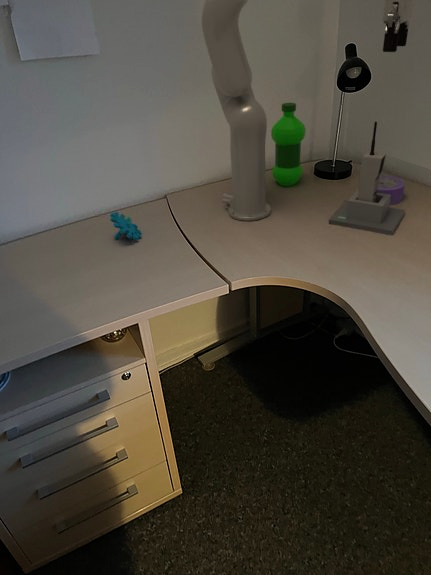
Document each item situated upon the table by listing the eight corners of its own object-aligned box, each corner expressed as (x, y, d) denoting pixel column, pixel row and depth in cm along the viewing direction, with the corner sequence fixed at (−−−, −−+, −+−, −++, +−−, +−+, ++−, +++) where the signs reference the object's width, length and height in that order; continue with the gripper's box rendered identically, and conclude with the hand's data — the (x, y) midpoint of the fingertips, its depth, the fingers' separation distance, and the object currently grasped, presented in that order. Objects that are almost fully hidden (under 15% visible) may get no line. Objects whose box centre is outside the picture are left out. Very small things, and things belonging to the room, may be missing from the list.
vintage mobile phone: (373, 218, 126) (386, 124, 112) (355, 215, 128) (365, 122, 114) (377, 213, 128) (390, 120, 115) (359, 210, 131) (370, 119, 117)
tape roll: (355, 202, 139) (357, 186, 136) (367, 188, 147) (369, 172, 144) (396, 208, 133) (399, 192, 131) (406, 193, 142) (409, 178, 139)
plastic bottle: (305, 178, 157) (309, 100, 143) (298, 190, 149) (301, 108, 135) (276, 176, 160) (277, 100, 146) (268, 187, 152) (268, 108, 138)
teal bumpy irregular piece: (139, 241, 123) (108, 216, 121) (125, 256, 125) (95, 232, 123) (146, 227, 133) (118, 204, 131) (134, 242, 135) (106, 219, 133)
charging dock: (328, 223, 128) (330, 202, 125) (344, 204, 138) (346, 184, 134) (391, 235, 120) (395, 213, 117) (404, 213, 130) (408, 192, 127)
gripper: (397, -33, 116) (388, 44, 126) (378, -31, 104) (369, 54, 114) (429, -35, 113) (417, 44, 122) (413, -34, 101) (401, 54, 110)
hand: (394, 48), depth 118 cm, fingers open, 9 cm apart
